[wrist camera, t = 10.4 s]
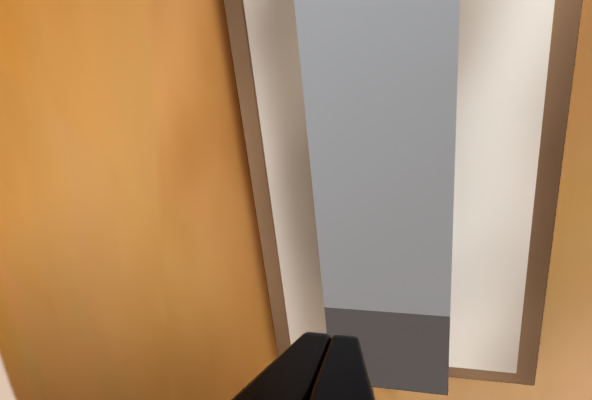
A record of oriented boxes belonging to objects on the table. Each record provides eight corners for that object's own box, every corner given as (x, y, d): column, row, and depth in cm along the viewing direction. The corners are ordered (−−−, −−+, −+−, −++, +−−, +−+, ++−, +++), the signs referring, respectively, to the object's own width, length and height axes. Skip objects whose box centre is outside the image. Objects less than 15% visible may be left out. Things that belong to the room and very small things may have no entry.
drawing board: (610, -305, 12) (625, -326, 11) (530, 366, 21) (535, 389, 20) (203, -220, 15) (185, -231, 14) (285, 343, 23) (277, 362, 22)
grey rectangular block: (460, -132, 13) (464, -148, 10) (447, 319, 19) (447, 395, 16) (318, -112, 14) (282, -121, 11) (349, 311, 20) (331, 382, 17)
